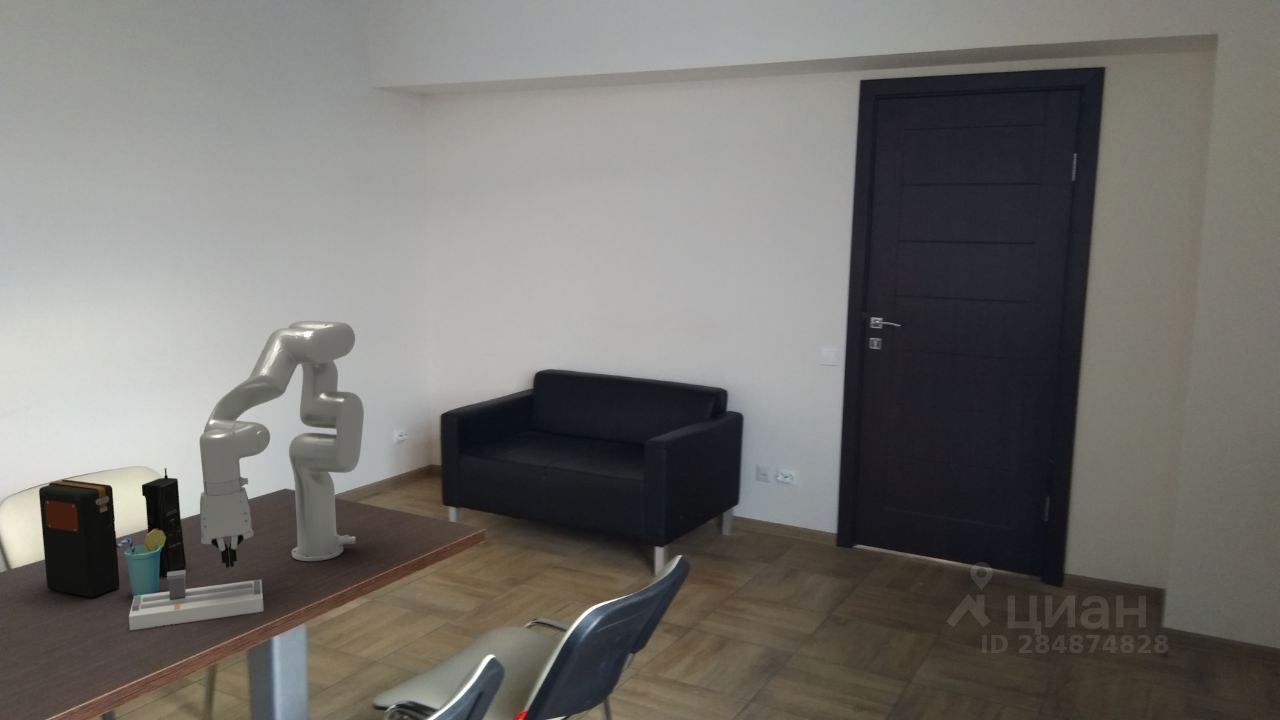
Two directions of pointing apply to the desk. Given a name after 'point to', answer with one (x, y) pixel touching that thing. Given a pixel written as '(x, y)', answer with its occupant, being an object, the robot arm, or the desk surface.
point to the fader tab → (177, 584)
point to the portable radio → (166, 521)
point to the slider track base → (196, 605)
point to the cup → (144, 563)
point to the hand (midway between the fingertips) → (229, 564)
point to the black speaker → (79, 537)
